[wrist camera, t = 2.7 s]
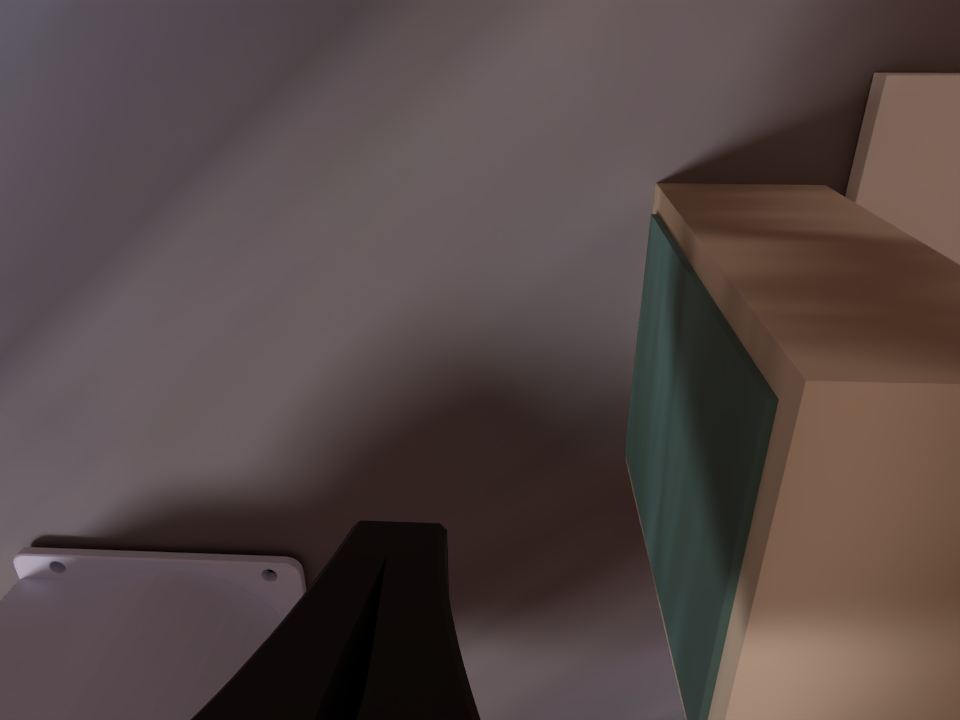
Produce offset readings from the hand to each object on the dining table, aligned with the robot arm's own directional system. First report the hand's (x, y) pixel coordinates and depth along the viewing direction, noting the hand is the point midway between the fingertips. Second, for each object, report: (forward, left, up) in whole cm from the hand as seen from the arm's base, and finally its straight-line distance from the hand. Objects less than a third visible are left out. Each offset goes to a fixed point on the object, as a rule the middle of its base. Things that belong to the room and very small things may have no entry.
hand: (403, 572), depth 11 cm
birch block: (+7, 0, -9) cm, 12 cm away
